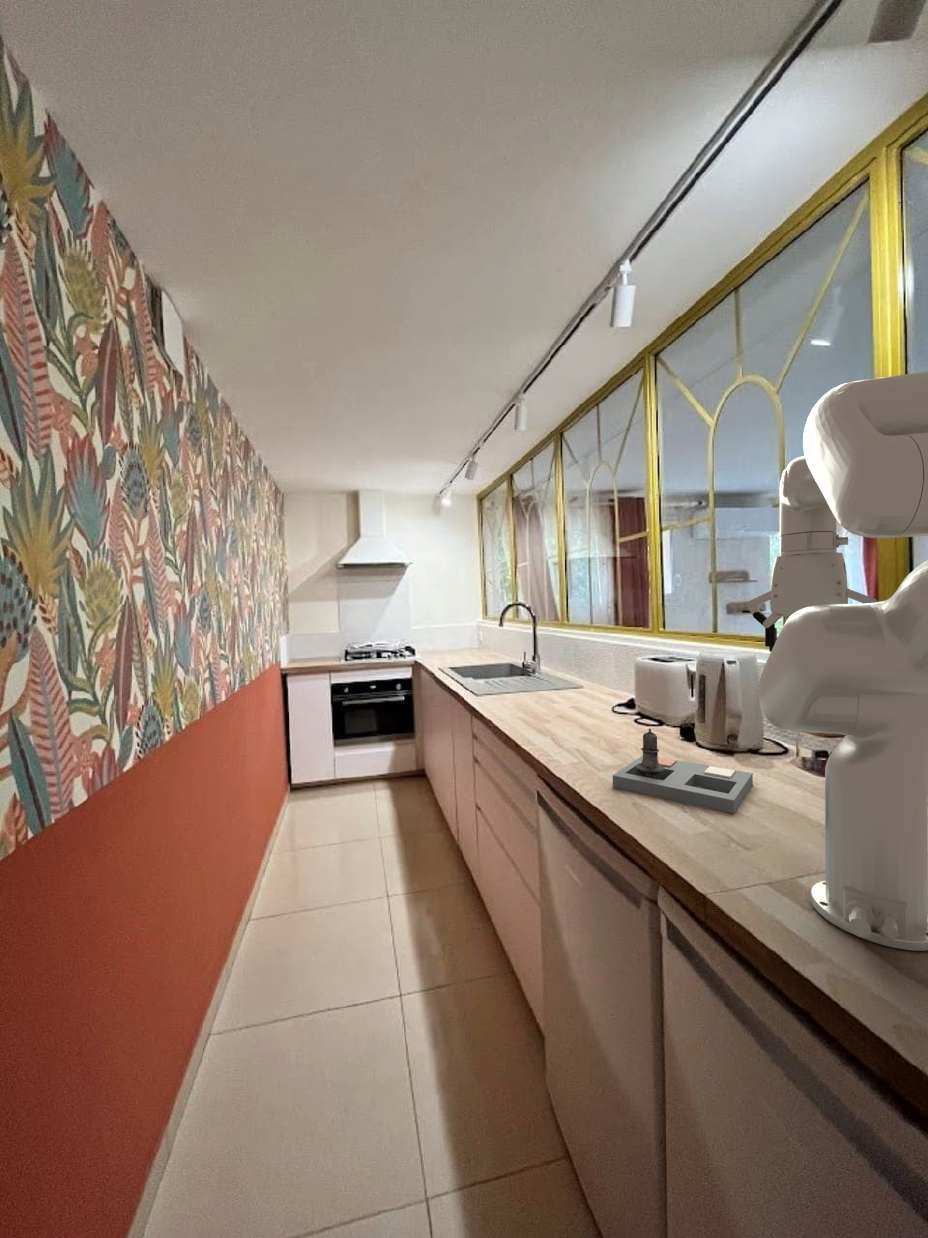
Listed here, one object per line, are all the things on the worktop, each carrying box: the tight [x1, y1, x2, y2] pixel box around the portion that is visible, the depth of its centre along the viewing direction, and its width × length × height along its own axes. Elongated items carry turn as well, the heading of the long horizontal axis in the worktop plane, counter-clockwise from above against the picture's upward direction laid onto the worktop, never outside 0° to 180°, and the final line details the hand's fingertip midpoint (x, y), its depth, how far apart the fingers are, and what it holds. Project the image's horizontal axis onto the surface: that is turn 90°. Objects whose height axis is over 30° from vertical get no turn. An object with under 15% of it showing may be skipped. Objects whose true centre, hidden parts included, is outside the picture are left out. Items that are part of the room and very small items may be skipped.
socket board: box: [612, 754, 754, 815], centre depth 105 cm, size 19×23×3 cm
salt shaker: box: [636, 727, 665, 780], centre depth 106 cm, size 6×6×12 cm
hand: (807, 652), depth 80 cm, fingers open, 9 cm apart
